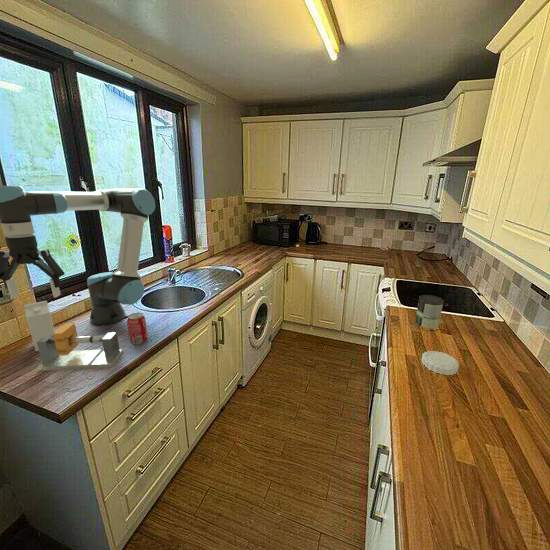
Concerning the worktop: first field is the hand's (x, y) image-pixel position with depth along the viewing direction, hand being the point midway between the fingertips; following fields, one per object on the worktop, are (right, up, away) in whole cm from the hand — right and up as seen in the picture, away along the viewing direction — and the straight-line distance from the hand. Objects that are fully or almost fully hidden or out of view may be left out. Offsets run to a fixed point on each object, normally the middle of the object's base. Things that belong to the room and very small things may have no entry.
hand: (36, 296), depth 98 cm
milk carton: (-12, -22, +19) cm, 32 cm away
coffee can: (+156, -17, +39) cm, 161 cm away
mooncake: (+144, -27, +8) cm, 147 cm away
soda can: (+25, -21, +23) cm, 40 cm away
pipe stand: (+10, -25, +9) cm, 28 cm away
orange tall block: (+6, -20, +7) cm, 22 cm away
